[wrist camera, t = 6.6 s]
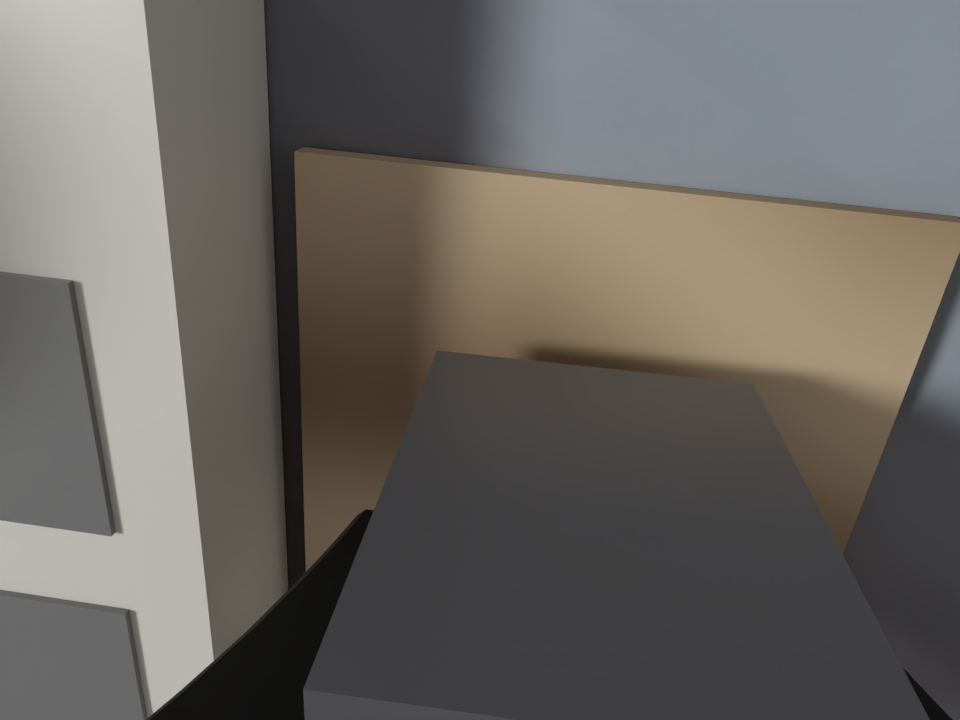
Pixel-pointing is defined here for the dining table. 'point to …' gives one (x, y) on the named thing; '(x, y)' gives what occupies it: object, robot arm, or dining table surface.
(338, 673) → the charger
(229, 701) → the robot arm
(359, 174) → the coaster
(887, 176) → the dining table surface
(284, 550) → the socket strip
